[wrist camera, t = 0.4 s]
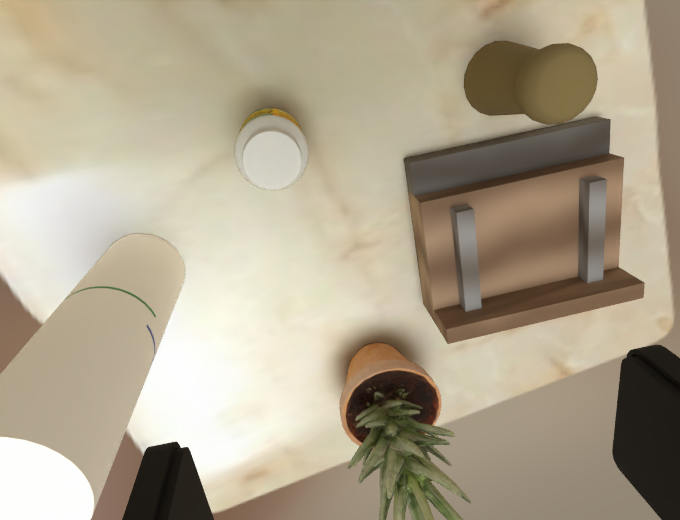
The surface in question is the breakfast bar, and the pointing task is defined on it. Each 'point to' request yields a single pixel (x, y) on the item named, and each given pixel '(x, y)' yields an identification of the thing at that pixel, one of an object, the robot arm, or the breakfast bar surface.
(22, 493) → the cylindrical container
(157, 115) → the breakfast bar surface
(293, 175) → the supplement bottle
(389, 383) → the potted plant
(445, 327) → the loading dock
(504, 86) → the olive rounded upright piece
